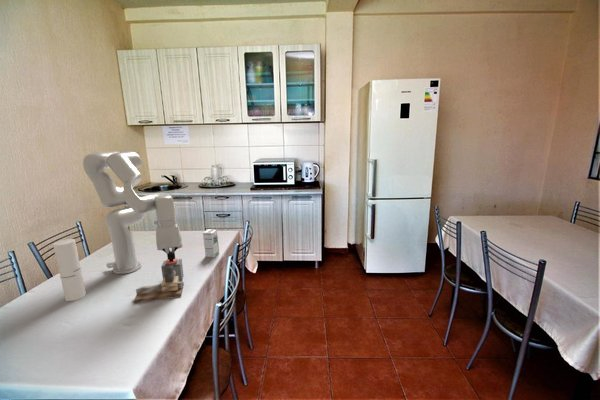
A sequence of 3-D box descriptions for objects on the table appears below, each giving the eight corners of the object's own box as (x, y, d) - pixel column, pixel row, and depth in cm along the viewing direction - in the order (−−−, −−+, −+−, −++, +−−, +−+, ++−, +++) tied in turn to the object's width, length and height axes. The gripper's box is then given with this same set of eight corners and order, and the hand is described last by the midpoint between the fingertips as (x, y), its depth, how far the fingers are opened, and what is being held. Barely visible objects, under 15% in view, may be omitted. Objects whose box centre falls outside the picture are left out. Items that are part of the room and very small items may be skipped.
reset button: (166, 276, 135) (164, 263, 134) (167, 270, 140) (166, 258, 139) (178, 274, 137) (176, 261, 135) (179, 269, 141) (178, 257, 140)
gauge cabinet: (163, 284, 135) (161, 266, 133) (165, 278, 141) (163, 261, 139) (182, 282, 137) (180, 264, 135) (183, 276, 143) (181, 258, 141)
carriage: (162, 292, 125) (159, 270, 123) (164, 285, 131) (161, 264, 128) (177, 290, 127) (174, 268, 124) (179, 283, 132) (176, 262, 130)
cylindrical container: (89, 293, 129) (79, 239, 123) (73, 302, 122) (60, 246, 116) (78, 290, 131) (67, 238, 125) (61, 299, 125) (48, 244, 119)
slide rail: (134, 303, 121) (133, 294, 120) (140, 290, 130) (139, 282, 129) (181, 296, 125) (180, 287, 125) (183, 284, 135) (182, 276, 134)
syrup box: (214, 257, 164) (212, 232, 160) (204, 256, 165) (202, 232, 162) (219, 253, 169) (217, 229, 166) (209, 252, 170) (207, 228, 167)
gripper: (146, 227, 127) (152, 266, 131) (183, 223, 131) (188, 261, 135) (150, 222, 134) (156, 259, 138) (185, 218, 138) (189, 255, 142)
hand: (171, 260), depth 137 cm, fingers closed
